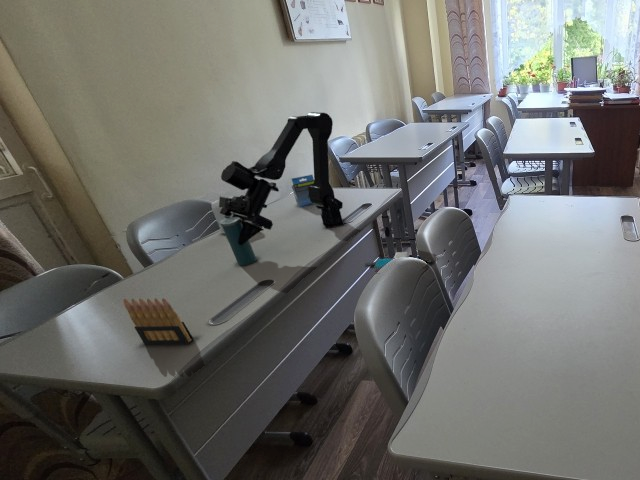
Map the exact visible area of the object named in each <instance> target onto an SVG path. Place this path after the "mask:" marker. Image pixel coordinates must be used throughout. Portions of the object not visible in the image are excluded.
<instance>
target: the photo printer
mask: <svg viewBox="0 0 640 480" xmlns="http://www.w3.org/2000/svg"><path fill="white" fill-rule="evenodd" d="M227 197H228V198H233V196H227ZM210 206H211V210H212V213H213V215H214V217H215V220H216V222H217V225H218V227H219V229H220V232H221V233H222V234H223V235H225V232H224V230H223V228H222V226H221V224H220V222H221V221H222V220H224V219H226V218H225V215H223V214H220V211H221V209H222V208H223V207H219V199H217V200H215V201H213V202H211V203H210ZM245 221H246V220H245ZM246 222H247V221H246Z"/></svg>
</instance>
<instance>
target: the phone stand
mask: <svg viewBox="0 0 640 480" xmlns="http://www.w3.org/2000/svg"><path fill="white" fill-rule="evenodd" d="M408 254H409V252H408V251H398V252H395V255H394V256H393V258H378V260H377V261H370V262H365V263H364V264H363V265H364V267H365V268H366V267H368V269H375V271H374V274H378V273H377V272H378V271H379V270H380V269H381V268H382V267H383V266H384V265H386V264H387V263H388V262H389V261H391V260H392V259H394V258H398V257H406V258H408V256H409V255H408ZM414 257H415V256H414ZM415 258H418V259H419V257H415ZM427 262H428V264H432V260H429V261H427Z"/></svg>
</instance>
